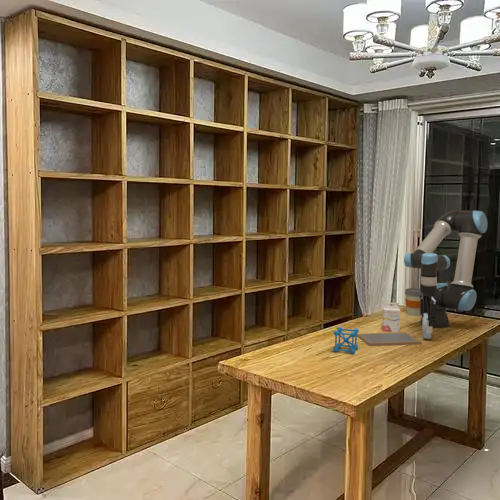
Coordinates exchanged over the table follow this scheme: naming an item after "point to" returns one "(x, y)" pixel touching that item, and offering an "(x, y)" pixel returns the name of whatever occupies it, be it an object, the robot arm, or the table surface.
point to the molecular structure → (346, 340)
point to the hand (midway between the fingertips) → (427, 331)
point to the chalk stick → (425, 327)
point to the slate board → (388, 339)
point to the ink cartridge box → (391, 317)
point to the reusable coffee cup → (413, 301)
